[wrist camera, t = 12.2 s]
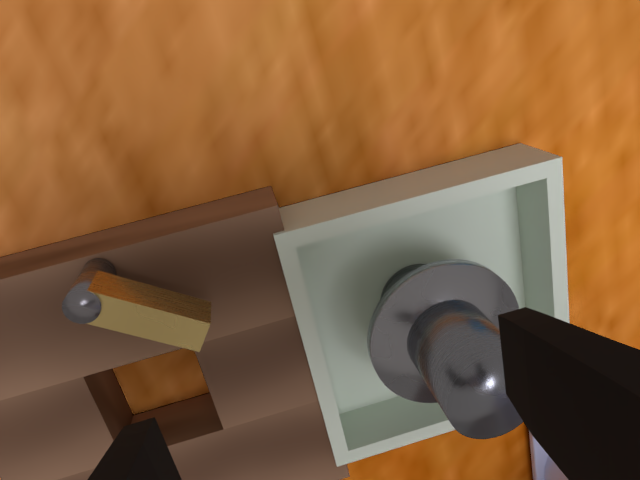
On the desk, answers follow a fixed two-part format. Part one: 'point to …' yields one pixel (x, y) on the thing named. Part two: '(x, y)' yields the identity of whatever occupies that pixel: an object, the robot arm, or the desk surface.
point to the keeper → (136, 307)
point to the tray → (407, 249)
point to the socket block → (120, 349)
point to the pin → (446, 343)
